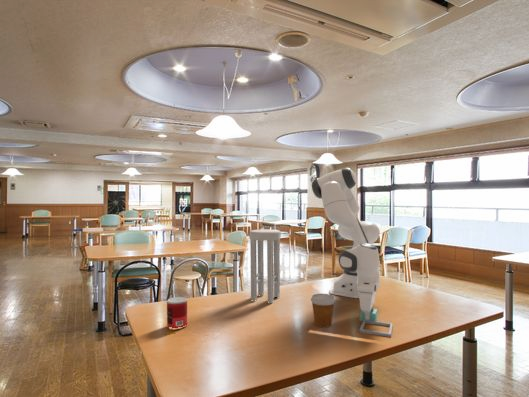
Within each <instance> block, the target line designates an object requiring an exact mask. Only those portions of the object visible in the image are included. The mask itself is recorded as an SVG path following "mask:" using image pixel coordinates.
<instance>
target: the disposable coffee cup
mask: <svg viewBox="0 0 529 397" xmlns="http://www.w3.org/2000/svg"><path fill="white" fill-rule="evenodd" d="M310 300H311V302H312V303H311V304H312V312H313V320H314V325H315V326H316V327H318V328H330V327H331V326H332V322H333V314H334V305H335V302H336V299H335V297H334V295H333V294H330V293H315V294H313V295H312V296H311V298H310Z"/></svg>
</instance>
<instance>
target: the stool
mask: <svg viewBox="0 0 529 397" xmlns="http://www.w3.org/2000/svg"><path fill="white" fill-rule="evenodd" d="M281 238H282V235H281V230H279V229H269V228H267V229H265V228H264V229H263V228H261V229H253V230H249V240H250V242H249V243H250V255H249V256H250V301H251V300H253V301H252V302H254V301H255V300H258V295H260V296H259V297H261V296H262V295H264V293H265V290H264V289H265V288H264V285H265V284H264V279H265V278H264V276H265V275H264V241H266V247H267V248H266V250H267V251H266V262H267V264H266V267H267V268H266V271H267V276H266V277H267V281H266V283H267V303H268V302H269V303H268V304H270V303H272V304H274V299H275V298H274V297H277V298H276V299H279V298H280V297H281V291H280V286H281V284H280V279H281V278H280V276H281V275H280V268H281V267H280V239H281ZM264 296H265V295H264ZM262 297H263V296H262ZM255 302H256V301H255Z"/></svg>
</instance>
